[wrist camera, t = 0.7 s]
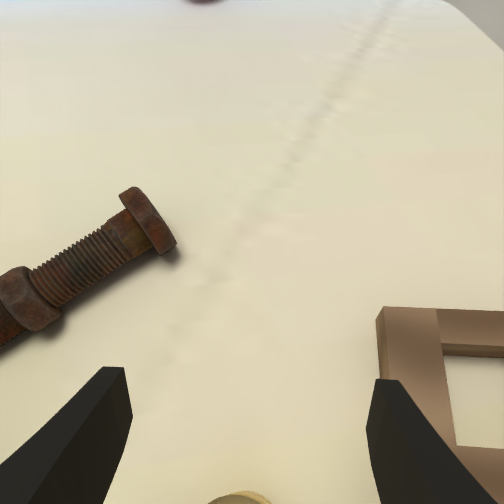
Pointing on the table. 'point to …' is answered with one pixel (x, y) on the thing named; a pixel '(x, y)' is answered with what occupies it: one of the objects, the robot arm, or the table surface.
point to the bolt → (80, 266)
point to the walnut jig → (442, 371)
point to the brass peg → (241, 498)
